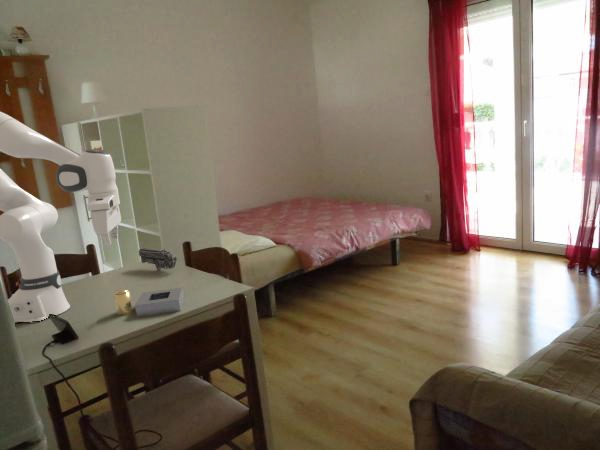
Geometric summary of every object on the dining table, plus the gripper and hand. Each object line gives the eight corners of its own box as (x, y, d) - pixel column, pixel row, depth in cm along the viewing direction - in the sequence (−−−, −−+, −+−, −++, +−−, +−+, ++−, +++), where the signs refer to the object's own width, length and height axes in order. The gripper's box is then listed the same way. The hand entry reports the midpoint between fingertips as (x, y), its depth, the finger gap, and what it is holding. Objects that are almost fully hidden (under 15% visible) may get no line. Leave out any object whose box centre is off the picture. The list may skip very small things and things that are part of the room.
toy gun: (145, 266, 217) (142, 245, 215) (180, 271, 204) (176, 249, 201) (139, 268, 215) (136, 247, 212) (174, 274, 201) (170, 251, 199)
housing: (137, 319, 155) (135, 305, 154) (144, 306, 167) (141, 292, 166) (181, 313, 157) (178, 299, 156) (184, 300, 169) (182, 287, 168)
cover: (116, 318, 158) (111, 294, 156) (119, 313, 163) (115, 289, 161) (131, 316, 159) (127, 292, 157) (134, 311, 163) (130, 287, 162)
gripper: (103, 196, 162) (109, 235, 165) (85, 206, 142) (93, 250, 145) (122, 194, 163) (128, 233, 166) (107, 204, 143) (114, 248, 146)
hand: (111, 241), depth 155 cm, fingers open, 8 cm apart
